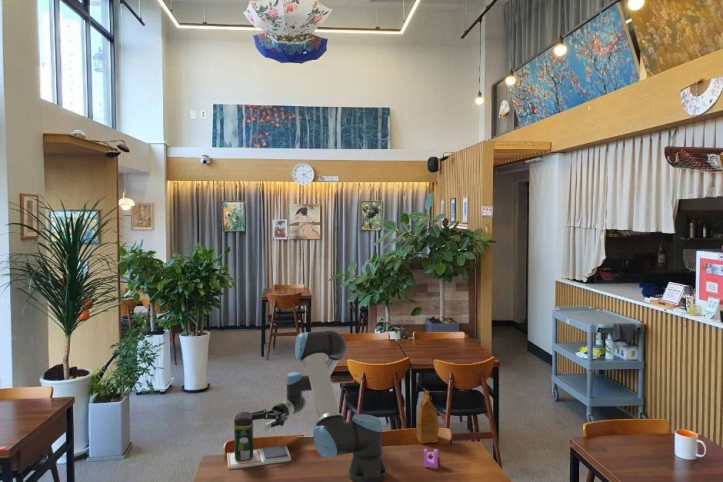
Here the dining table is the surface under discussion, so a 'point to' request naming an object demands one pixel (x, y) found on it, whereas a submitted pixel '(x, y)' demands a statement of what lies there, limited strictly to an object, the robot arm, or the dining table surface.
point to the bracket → (431, 462)
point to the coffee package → (427, 421)
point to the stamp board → (251, 460)
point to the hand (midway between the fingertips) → (253, 425)
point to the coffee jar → (243, 436)
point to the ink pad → (274, 452)
